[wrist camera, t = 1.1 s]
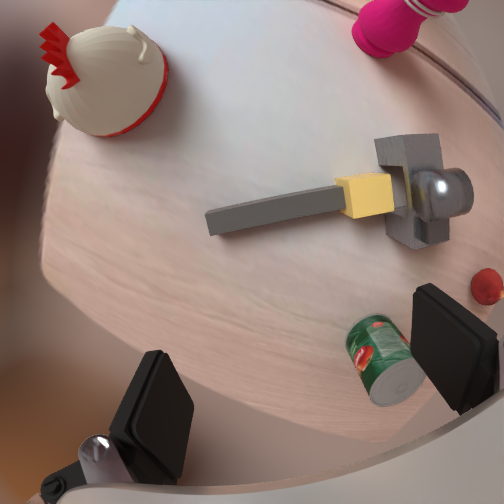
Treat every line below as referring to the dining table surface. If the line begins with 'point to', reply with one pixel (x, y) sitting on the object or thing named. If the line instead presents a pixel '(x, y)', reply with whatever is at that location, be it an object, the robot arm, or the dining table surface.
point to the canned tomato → (383, 360)
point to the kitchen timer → (103, 78)
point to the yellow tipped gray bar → (309, 204)
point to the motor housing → (424, 190)
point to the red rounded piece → (487, 287)
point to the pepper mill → (396, 23)
